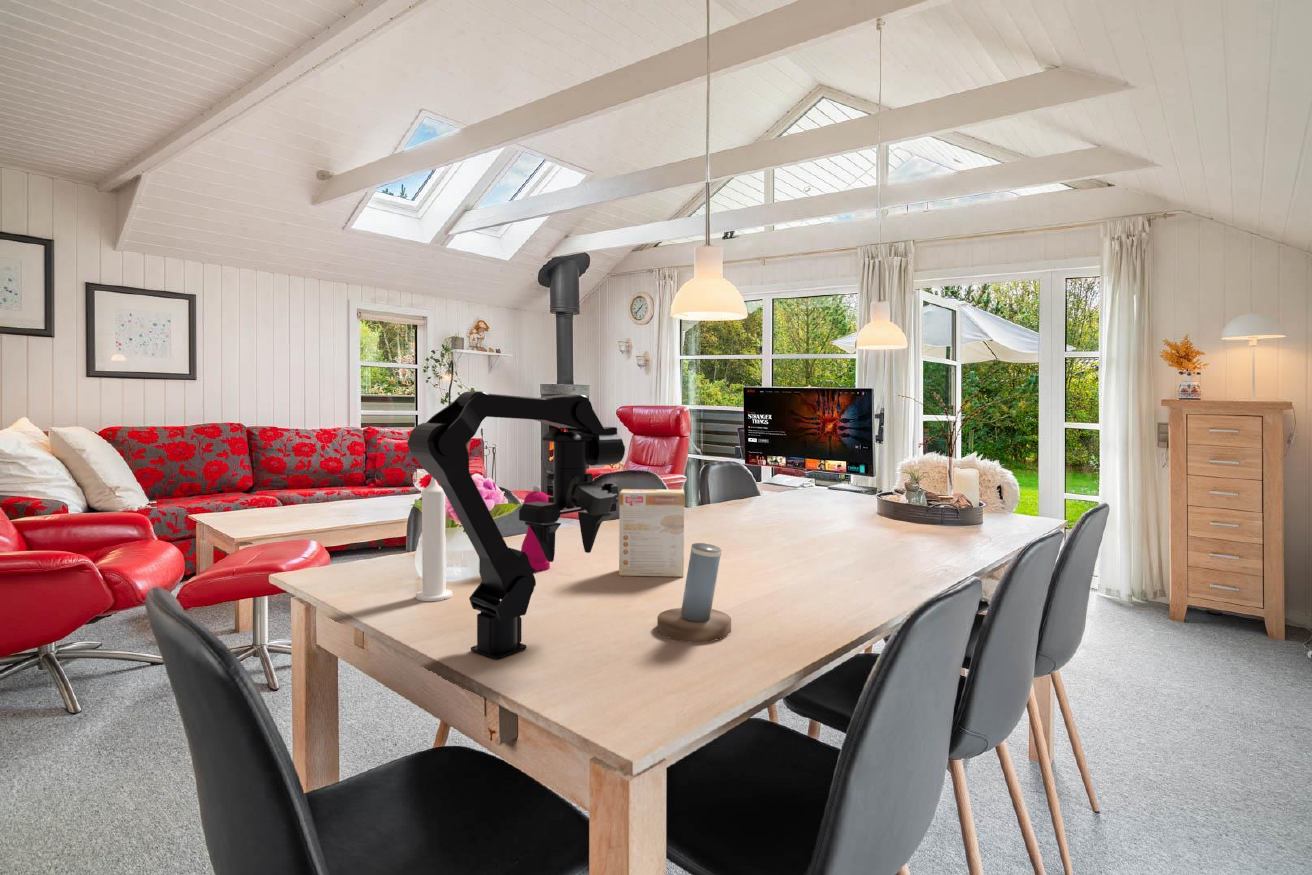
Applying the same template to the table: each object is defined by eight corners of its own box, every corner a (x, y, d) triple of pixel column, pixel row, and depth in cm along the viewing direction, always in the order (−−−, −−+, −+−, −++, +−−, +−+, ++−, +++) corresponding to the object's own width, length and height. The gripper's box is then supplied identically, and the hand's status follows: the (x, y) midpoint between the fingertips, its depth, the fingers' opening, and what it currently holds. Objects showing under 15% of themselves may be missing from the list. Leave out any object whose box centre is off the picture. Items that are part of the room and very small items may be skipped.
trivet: (704, 650, 115) (705, 635, 115) (642, 633, 123) (642, 619, 123) (744, 630, 126) (744, 616, 125) (684, 616, 133) (684, 603, 133)
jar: (697, 624, 120) (708, 554, 119) (674, 612, 124) (685, 544, 122) (716, 618, 124) (727, 550, 123) (693, 607, 128) (704, 541, 126)
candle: (408, 598, 141) (407, 474, 140) (434, 590, 147) (433, 471, 146) (434, 603, 138) (433, 476, 137) (459, 594, 144) (459, 473, 143)
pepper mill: (545, 572, 164) (545, 487, 163) (516, 570, 165) (516, 486, 164) (556, 565, 171) (556, 483, 170) (527, 564, 172) (528, 482, 171)
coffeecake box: (683, 570, 168) (684, 488, 167) (683, 577, 161) (684, 492, 160) (621, 568, 168) (621, 487, 167) (618, 576, 161) (619, 491, 160)
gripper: (565, 474, 109) (565, 574, 110) (640, 466, 124) (639, 554, 125) (516, 470, 116) (516, 563, 116) (593, 462, 130) (592, 546, 131)
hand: (569, 556), depth 122 cm, fingers open, 9 cm apart
